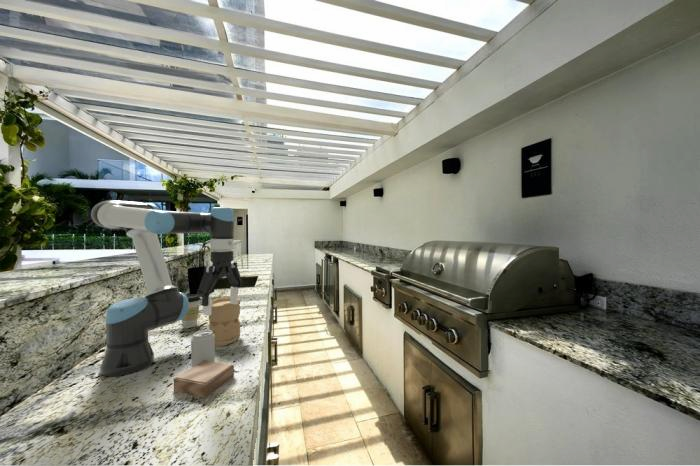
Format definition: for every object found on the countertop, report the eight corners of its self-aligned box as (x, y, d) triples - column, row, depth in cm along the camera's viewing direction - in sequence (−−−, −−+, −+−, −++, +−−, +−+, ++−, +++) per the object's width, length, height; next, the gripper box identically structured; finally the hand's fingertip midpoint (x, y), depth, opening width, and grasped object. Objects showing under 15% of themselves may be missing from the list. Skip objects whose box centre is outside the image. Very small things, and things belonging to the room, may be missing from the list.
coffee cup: (193, 329, 135) (193, 298, 135) (174, 329, 135) (173, 298, 135) (204, 322, 145) (204, 294, 144) (186, 322, 145) (185, 294, 145)
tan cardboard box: (173, 391, 83) (173, 377, 83) (204, 371, 94) (204, 359, 94) (206, 398, 80) (205, 383, 80) (234, 376, 91) (233, 364, 91)
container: (225, 348, 113) (225, 305, 113) (202, 344, 117) (201, 302, 117) (246, 337, 125) (246, 297, 125) (224, 333, 129) (224, 295, 129)
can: (204, 371, 95) (204, 337, 94) (186, 369, 96) (185, 335, 96) (219, 361, 102) (219, 329, 102) (201, 359, 103) (201, 328, 103)
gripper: (204, 254, 85) (203, 321, 86) (252, 248, 109) (251, 300, 110) (184, 253, 87) (184, 318, 88) (236, 247, 111) (235, 299, 112)
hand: (221, 309), depth 99 cm, fingers open, 13 cm apart
